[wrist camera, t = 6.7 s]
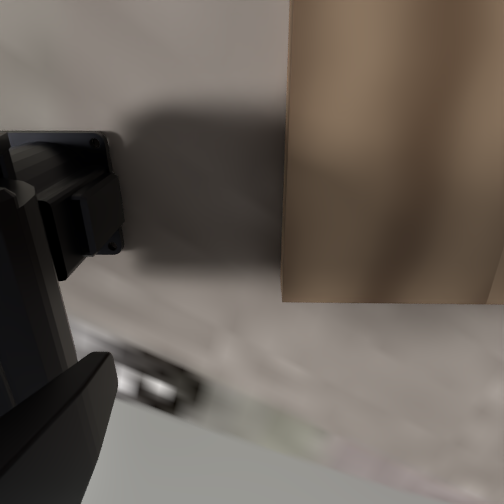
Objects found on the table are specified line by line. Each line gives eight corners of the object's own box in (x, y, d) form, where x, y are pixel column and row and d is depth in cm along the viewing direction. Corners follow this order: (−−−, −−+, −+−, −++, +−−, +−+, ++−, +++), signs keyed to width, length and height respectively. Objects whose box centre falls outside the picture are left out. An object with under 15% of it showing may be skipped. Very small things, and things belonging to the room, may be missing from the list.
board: (280, 278, 22) (282, 302, 20) (292, -69, 16) (297, -92, 13) (596, 281, 22) (634, 305, 20) (752, -74, 15) (838, -99, 13)
